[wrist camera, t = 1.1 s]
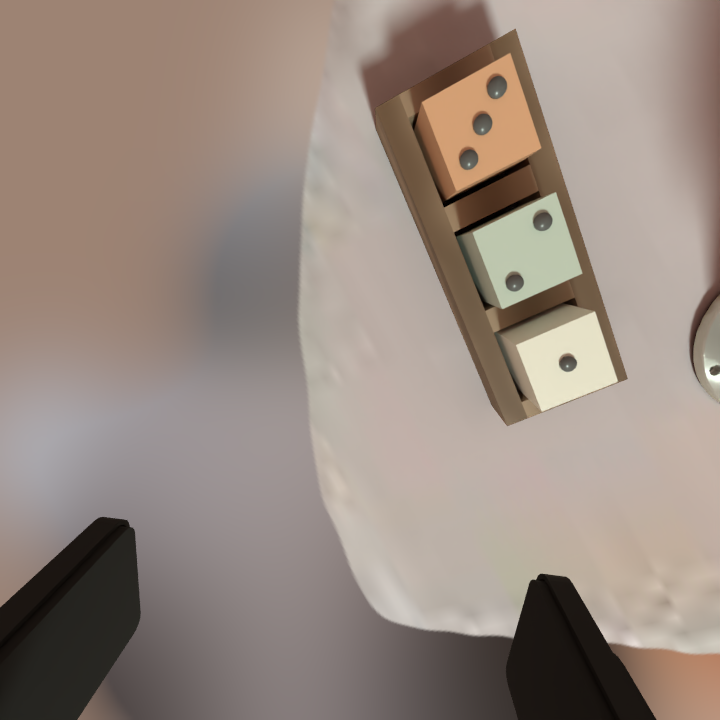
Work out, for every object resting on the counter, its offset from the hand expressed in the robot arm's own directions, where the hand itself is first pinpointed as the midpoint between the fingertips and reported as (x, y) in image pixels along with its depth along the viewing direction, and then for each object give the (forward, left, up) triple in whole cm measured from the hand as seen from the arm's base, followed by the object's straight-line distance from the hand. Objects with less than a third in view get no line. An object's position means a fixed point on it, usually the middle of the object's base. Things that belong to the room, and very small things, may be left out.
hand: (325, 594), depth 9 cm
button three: (-12, -10, -22) cm, 27 cm away
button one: (-12, +5, -22) cm, 25 cm away
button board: (-12, -3, -24) cm, 27 cm away
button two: (-12, -3, -22) cm, 25 cm away
